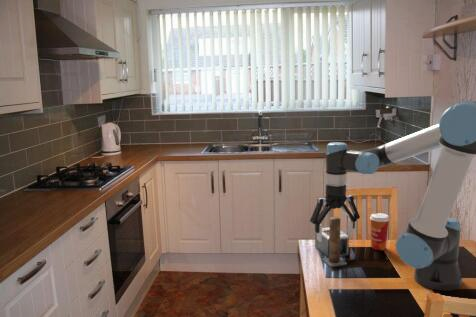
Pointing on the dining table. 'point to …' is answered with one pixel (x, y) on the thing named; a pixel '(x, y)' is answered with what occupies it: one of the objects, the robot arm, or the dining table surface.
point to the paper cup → (379, 230)
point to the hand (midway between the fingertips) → (334, 238)
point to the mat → (334, 263)
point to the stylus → (334, 240)
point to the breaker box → (324, 244)
